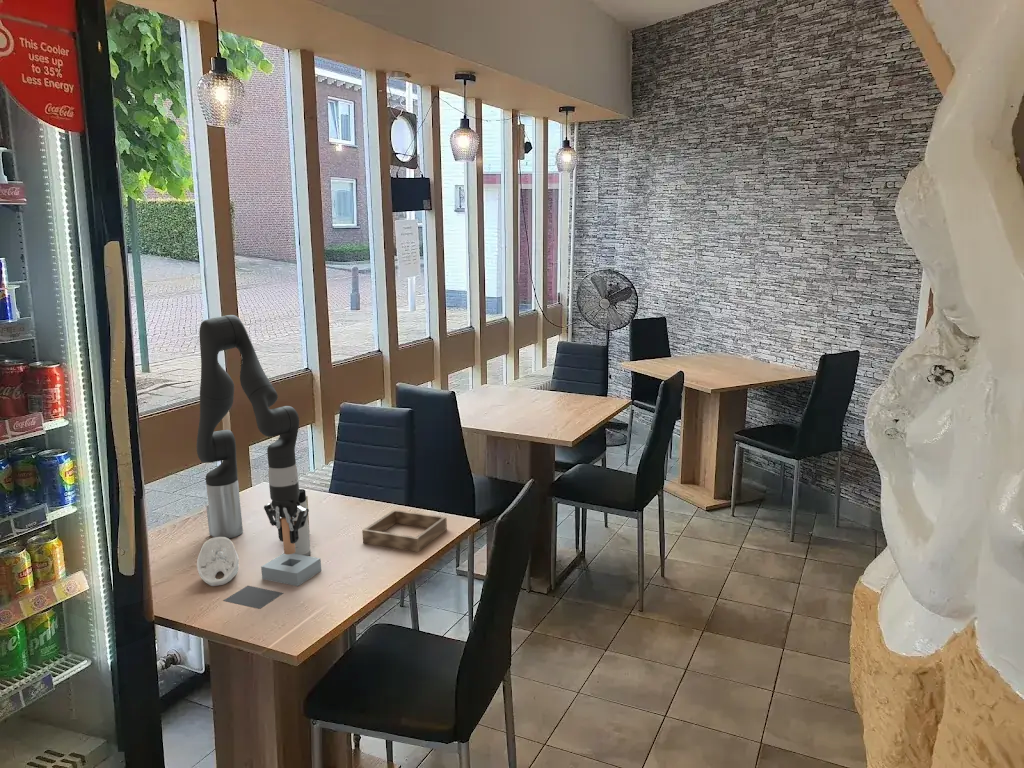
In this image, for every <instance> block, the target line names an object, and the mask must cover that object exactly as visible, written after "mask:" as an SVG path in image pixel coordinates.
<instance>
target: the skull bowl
mask: <svg viewBox="0 0 1024 768" xmlns="http://www.w3.org/2000/svg"><path fill="white" fill-rule="evenodd" d="M239 562H240V559H239V555H238V552H237V550H236V547H235V545H234V543H233V541H232V540H231V539H230V538H226V537H215V538H213V537H212V538H209V539H207V540H206V541H205V542H204V543H203V544H202V546H201V549H200V551H199V553H198V556H197V560H196V569H197V572H198V576H199V577H200V578H201V580H202V581H203V582H204V583H206V584H207V585H209V586H211V587H216V586H223V585H226V584H227V583H229V582H230V581H231V580H232V579H234V577H235V576H236V575H237V574H238V571H239ZM219 572H222V573H223V576H222V578H220V579H219V578H216V576H217V573H219Z"/></svg>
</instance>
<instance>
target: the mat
mask: <svg viewBox="0 0 1024 768" xmlns="http://www.w3.org/2000/svg"><path fill="white" fill-rule="evenodd" d="M282 595H284V592H283V591H282V592H281V591H276V590H271V589H267V588H262V587H256V586H252V585H246V586H245V587H243V588H240V589H239V590H238V591H237V592H235V593H233V594H232V595H230V596H228V597H227V598H225V599H223V600H222V601H223V602H227V603H230V604H236V605H240V606H245V607H249V608H253V609H258V610H261V609H263V608H264V607H265V606H266V605H268V604H270V603H271V602H273V601H274V600H276V599H277V598H279V597H280V596H282Z"/></svg>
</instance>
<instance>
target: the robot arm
mask: <svg viewBox="0 0 1024 768" xmlns="http://www.w3.org/2000/svg"><path fill="white" fill-rule="evenodd" d="M198 334H199V347H200V348H199V349H200V364H201V365H200V367H201V369H200V383H199V384H200V386H199V420H198V421H199V422H198V428H197V438H196V454H197V458H198V459H199V460H200V462H202V463H203V464H204V463H205V464H207V463H208V464H209V463H216V462H221V461H222V462H221V463H220V464H219V465H218V466H216V467H214V469H212V470H210V471H209V472H207V473H206V475H205V485H206V494H207V495H206V496H207V502H208V505H206V515H207V516H206V517H207V525H208V533H209V534H208V535H209V536H211V537H212V538H215V537H226V538H228V539H232V538H236V537H238V536H240V535H242V534H243V533H244V527H243V526H244V525H243V516H242V508H241V497H240V487H239V486H240V485H239V478H238V465H237V464H238V463H237V445H236V438H235V436H234V433H233V431H231V429H222V430H217V431H215V429H216V428H217V426H218V425H219V424H220V423H221V421H222V420H223V419H224V418H225V417H226V415H227V414H228V413H229V412H230V410H231V409H232V406H233V404H234V398H235V396H234V395H235V383H234V380H233V378H231V376H230V374H229V373H228V372H227V371H226V370H225V369H224V368H223V366H222V365H221V364H220V362H219V360H218V358H219V357H218V356H219V353H220V352H223V351H227V350H231V349H236V350H238V352H239V354H240V355H241V356H240V357H241V366H240V372H239V374H240V375H239V382H240V386H241V388H242V390H243V392H244V395H246V397H247V399H248V400H249V402H250V404H251V406H252V409H253V413H254V416H255V421H256V426H257V429H258V431H259V432H260V433H261V434H262V435H263V436H265V437H268V438H271V437H277V436H278V439H276V441H274V442H272V443H270V445H268V446H267V449H266V450H267V451H266V452H267V454H266V455H267V462H268V465H267V466H268V474H267V475H268V476H267V477H268V483H269V484H268V485H269V486H268V487H269V496H270V499H271V502H269V503H267V504H265V505H264V506H263V510H264V511H265V513H266V515H267V518H268V521H269V522H270V525H271V526H272V527H273V526H275V527H276V529H277V533H278V534H277V535H278V539H279V541H280V542H281V543H283V534H282V523H281V517H285V518H286V521H287V523H288V524H289V528H290V542H291V543H293V544H294V543H296V542H297V541H298V539H299V536H298V529H300V528H301V527H303V526H304V525H305V521H306V518H307V515H308V514H309V512H310V510H309V507H308V508H305V509H304V508H302V507H301V506H300V503H299V501H298V498H299V489H300V483H299V472H298V468H297V463H296V462H297V461H296V451H295V450H296V443H297V437H298V433H299V429H300V417H299V414H298V411H297V410H296V409H295V408H294V407H292V406H290V405H284V406H280V407H276V408H271V409H270V407H271V406H273V405H275V403H276V402H277V401H278V397H279V396H278V392H277V391H276V389H275V388H274V385H273V384H272V382H271V381H270V380H269V378H268V376H267V375H266V373H265V370H264V369H263V368H262V365H261V363H260V361H259V357H258V355H257V353H256V350H255V348H254V345H253V344H252V341H251V339H250V336H249V334H248V332H247V329H246V327H245V325H244V323H243V322H242V320H241V319H240V317H238V316H237V315H235V314H227V315H222V316H217V317H216V316H215V317H212V318H208V319H205V320H203V321H202V322H201V323H200V326H199V333H198ZM297 511H298V513H297ZM292 517H293V518H292ZM293 522H294V525H293Z"/></svg>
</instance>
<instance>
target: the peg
mask: <svg viewBox="0 0 1024 768" xmlns="http://www.w3.org/2000/svg"><path fill="white" fill-rule="evenodd" d="M292 518H293V517H292ZM281 523H282V534H283V542H282V544H283V545H282V546H283V553H284V554H293V553H295V552H296V551H295V543H294V544H293V543H291V542H290V528H289V524H288V523H287V521H286V518H285V517H281Z"/></svg>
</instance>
